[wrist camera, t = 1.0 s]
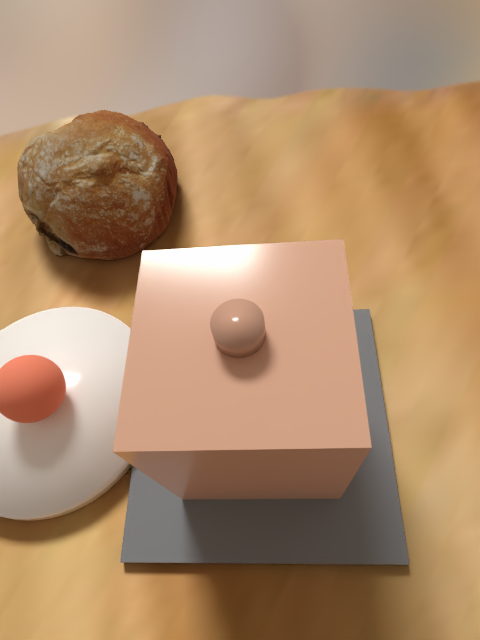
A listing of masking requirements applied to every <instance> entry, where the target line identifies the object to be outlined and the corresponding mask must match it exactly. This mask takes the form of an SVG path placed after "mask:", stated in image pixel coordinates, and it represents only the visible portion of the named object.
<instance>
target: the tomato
mask: <svg viewBox="0 0 480 640" xmlns="http://www.w3.org/2000/svg"><path fill="white" fill-rule="evenodd" d="M65 393H66V381H65V377H64V374H63V373H62V371H61V369H60V368H59V367H58V365H57V364H55V363H54V362H53V361H51V360H50V359H48V358H45V357H43V356H39V355H23V356H19V357H16V358H14V359H12V360H10V361H8V362H7V363H6V364H4V365H3V366H2V367H1V368H0V413H1V414H2V415H3V416H5V417H6V418H8V419H10V420H12V421H15V422H20V423H34V422H38V421H41V420H43V419H45V418H47V417H49V416H50V415H52V414H53V413H54V412H55V411H56V410H57V409H58V408H59V406H60V405H61V403H62V401H63V399H64V397H65Z"/></svg>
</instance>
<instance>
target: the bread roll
mask: <svg viewBox="0 0 480 640" xmlns="http://www.w3.org/2000/svg"><path fill="white" fill-rule="evenodd" d="M18 188H19V197H20V200H21V202H22V203H23V207H24V210H25V212H26V214H27V215H28V217H29V218H30V220H31V221H32V223H33V224H35V226H36V230H37V231H38V232H39V235H44V236H45V238H46V240H47V244H48V246H49V248H50V250H51V251H52V252H53V253H54V254H56V255H59V256H63V255H64V254H68V255H72V256H75V257H80V258H94V259H105V260H114V259H120V258H125V257H129V256H131V255H133V254H136V253H138V252H140V251H141V250H143V249H144V248H146V247H147V246H148V245H150V244H151V243H152V242H154V241H155V240H156V239H157V238H159V236H160V235H161V234H162V233H163V232H164V231H165V230H166V229H167V226H168V224H169V220H170V219H171V213H172V211H173V209H174V204H175V199H176V195H177V189H178V187H177V169H176V166H175V163H174V159H173V156H172V155H171V153H170V151H169V149H168V148H167V146H166V145H165V143H164V142H163V140H162V139H161V135H156V134H155V133H154V132H153V131H151V130H150V129H149V128H148V126H146V125H145V124H144V123H143V122H138V121H136V120H134V119H132V118H130V117H128V116H126V115H124V114H122V113H117V112H111V111H106V110H101V111H97V112H94V113H87V114H84V115H79V116H77V117H76V118H75V119H74V120H73V121H72V122H71V123H69V124H66V125H64V126H62V127H61V128H59V129H57V130H56V131H54V132H48V133H46V134H44V135H40V136H37V137H34V138H32V139H31V141H30V142H29V144H28V145H27V147H26V148H25V150H24V151H23V153H22V155H21V157H20V160H19V162H18Z"/></svg>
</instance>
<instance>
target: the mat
mask: <svg viewBox="0 0 480 640" xmlns="http://www.w3.org/2000/svg"><path fill="white" fill-rule="evenodd" d="M353 313H354V320H355V328H356V335H357V343H358V350H359V357H360V365H361V372H362V379H363V387H364V394H365V402H366V409H367V416H368V424H369V431H370V438H371V446H372V448H371V450H370V451H369V453H368V455H367V456H366V458H365V459H364V461H363V463H362V464H361V466H360V467H359V469H358V471H357V472H356V474H355V475H354V477H353V479H352V480H351V482H350V484H349V485H348V487H347V488H346V490H345V492H344V493H343V495H342V496H341V498H340V499H191V500H182V499H181V498H179V497H178V496H176V495H175V494H173V493H172V492H170V491H169V490H167V489H166V488H165V487H163V486H162V485H160V484H159V483H157V482H156V481H154V480H153V479H151V478H150V477H149V476H147V475H146V474H144V473H143V472H141V471H140V470H138V469H137V468H135V467H134V466H132V472H131V480H130V489H129V497H128V505H127V513H126V521H125V529H124V537H123V545H122V553H121V561H120V562H123V563H244V564H370V565H409V558H408V552H407V546H406V539H405V533H404V526H403V520H402V514H401V507H400V501H399V495H398V488H397V482H396V476H395V469H394V463H393V456H392V450H391V444H390V437H389V431H388V425H387V418H386V412H385V405H384V399H383V393H382V386H381V380H380V374H379V367H378V361H377V354H376V348H375V342H374V335H373V329H372V323H371V316H370V310H369V309H362V310H353Z"/></svg>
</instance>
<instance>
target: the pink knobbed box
mask: <svg viewBox="0 0 480 640" xmlns="http://www.w3.org/2000/svg"><path fill="white" fill-rule="evenodd" d="M371 448H372V446H371V438H370V431H369V424H368V416H367V409H366V402H365V394H364V387H363V379H362V372H361V365H360V357H359V350H358V343H357V335H356V328H355V320H354V313H353V306H352V298H351V291H350V284H349V276H348V269H347V261H346V254H345V247H344V239H337V240H320V241H303V242H286V243H269V244H252V245H234V246H217V247H200V248H183V249H166V250H149V251H142V256H141V263H140V270H139V276H138V283H137V290H136V297H135V303H134V310H133V317H132V324H131V330H130V337H129V344H128V351H127V357H126V364H125V371H124V378H123V384H122V391H121V398H120V405H119V411H118V418H117V425H116V432H115V438H114V445H113V452H114V453H115V454H116V455H118V456H119V457H121V458H122V459H124V460H125V461H127V462H128V463H130V464H131V465H132V466H134V467H135V468H137V469H138V470H140V471H141V472H143V473H144V474H146V475H147V476H149V477H150V478H151V479H153V480H154V481H156V482H157V483H159V484H160V485H162V486H163V487H165V488H166V489H167V490H169V491H170V492H172V493H173V494H175V495H176V496H178V497H179V498H181V499H182V500H191V499H340V498H341V496H342V495H343V493H344V492H345V490H346V488H347V487H348V485H349V484H350V482H351V480H352V479H353V477H354V475H355V474H356V472H357V471H358V469H359V467H360V466H361V464H362V463H363V461H364V459H365V458H366V456H367V455H368V453H369V451H370V450H371Z"/></svg>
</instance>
